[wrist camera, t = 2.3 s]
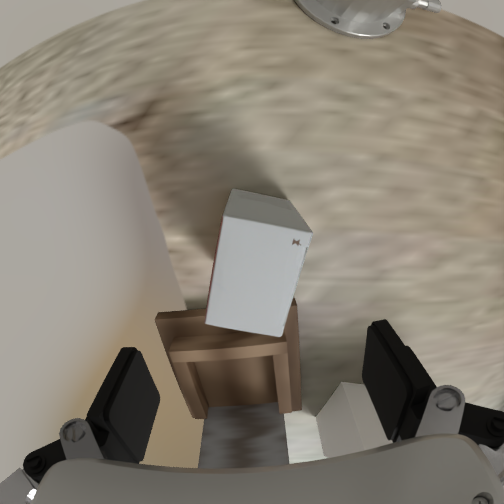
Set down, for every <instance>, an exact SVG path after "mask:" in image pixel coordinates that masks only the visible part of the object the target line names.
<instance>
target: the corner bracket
mask: <svg viewBox="0 0 504 504" xmlns="http://www.w3.org/2000/svg"><path fill="white" fill-rule="evenodd" d="M316 421H317V425H318V430H319V435H320V439H321V444H322V449H323V454H324V456H326V457H328V458H332V457H337V456H342V455H346V454H351V453H355V452H360V451H364V450H368V449H372V448H376V447H380V446H383V445H387V444H390V443H393V442H392V440H388V439H387V437H386V435H385V432H384V430H383V427H382V425H381V422H380V420H379V417H378V415H377V413H376V410H375V408H374V405H373V403H372V401H371V398H370V396H369V394H368V391H367V389H366V387H365V384H356V383H348V382H341V383H340V384H339V386H338V387H337V389H336V390H335V392H334V393H333V394H332V396H331V397H330V398H329V400H328V401H327V403H326V404H325V405H324V407H323V408H322V409H321V411H320V412H319V413H318V415H317V416H316Z"/></svg>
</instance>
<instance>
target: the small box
mask: <svg viewBox="0 0 504 504" xmlns="http://www.w3.org/2000/svg"><path fill="white" fill-rule="evenodd" d="M312 236H313V232H312V230H311V229H310V228H309V226H308V225H307V223H306V222H305V221H304V219H303V218H302V217H301V215H300V214H299V212H298V211H297V210H296V208H295V207H294V206H293V204H292V203H291V202H290V200H286V199H281V198H277V197H272V196H267V195H263V194H258V193H253V192H249V191H244V190H238V189H232V190H231V193H230V196H229V198H228V201H227V204H226V207H225V210H224V213H223V215H222V220H221V225H220V231H219V236H218V241H217V247H216V252H215V257H214V263H213V268H212V275H211V281H210V287H209V294H208V301H207V308H206V315H205V322H204V323H205V324H209V325H213V326H218V327H223V328H229V329H234V330H240V331H246V332H252V333H258V334H264V335H270V336H276V337H281V336H282V334H283V330H284V326H285V323H286V319H287V316H288V312H289V309H290V306H291V303H292V299H293V296H294V293H295V289H296V286H297V283H298V279H299V276H300V273H301V269H302V266H303V263H304V260H305V256H306V253H307V250H308V248H309V245H310V242H311V239H312Z"/></svg>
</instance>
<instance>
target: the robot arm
mask: <svg viewBox="0 0 504 504" xmlns="http://www.w3.org/2000/svg"><path fill="white" fill-rule="evenodd" d="M295 2H296V3H297V5H298V6H299V7H300V8H301V9H302V10H303V11H304V12H305V13H306V14H307V15H308V16H309V17H311V18H312V19H313V20H315V21H316V22H317V23H319V24H321V25H323V26H324V27H326V28H328V29H330V30H332V31H335V32H337V33H339V34H343V35H346V36H349V37H355V38H361V39H373V38H379V37H383V36H385V35H388V34H390V33H391V32H393V31H394V30H396V29H397V28H398V27H399V26H400V25H401V24H402V22H403V20H404V18H405V13H406V9H407V8H411V9H415V8H416V7H419V8H422V9H424V10H428V11H431V12H434V13H439V12H440V10H441V3H440V1H439V0H295ZM332 22H333V23H334V24H333V23H332ZM362 378H363V382H364V384H365V387H366V389H367V391H368V394H369V396H370V398H371V401H372V403H373V405H374V408H375V410H376V413H377V415H378V417H379V420H380V422H381V425H382V427H383V430H384V432H385V435H386V437H387V439H388V440H392V442H393V443H390V444H387V445H383V446H380V447H376V448H372V449H368V450H364V451H360V452H355V453H351V454H346V455H342V456H337V457H332V458H326V459H321V460H315V461H309V462H302V463H294V464H286V465H277V466H266V467H252V468H225V469H207V468H179V467H165V466H154V465H145V464H139V462H140V461H142V460H143V459H144V455H145V451H146V448H147V444H148V441H149V437H150V434H151V430H152V427H153V423H154V420H155V416H156V413H157V409H158V406H159V403H160V395H159V392H158V390H157V388H156V386H155V384H154V381H153V379H152V377H151V375H150V372H149V370H148V367H147V365H146V363H145V360H144V358H143V356H142V354H141V352H140V351H138V350H137V349H136V348H135V347H123V348H122V349H121V350H120V352H119V354H118V356H117V357H116V359H115V361H114V363H113V365H112V367H111V368H110V371H109V372H108V374H107V376H106V378H105V380H104V382H103V384H102V386H101V387H100V390H99V392H98V393H97V395H96V398H95V399H94V401H93V403H92V405H91V407H90V409H89V411H88V413H87V417H86V419H85V420H84V419H80V418H75V419H72V420H69V421H68V422H66V423H65V424H64V425H63V426H62V428H61V429H60V433H59V435H60V439H59V440H57V441H55V442H52V443H50V444H48V445H46V446H44V447H42V448H40V449H37V450H35V451H33V452H31V453H29V454H28V455H27V456H26V458H25V460H24V463H23V467H24V469H23V470H21V469H20V468H19V469H17V470H16V471H15V472H14V473H13V474H11V475H10V476H9V477H8V478H7V479H5V480H4V481H3V482H1V483H0V504H504V412H502V411H498V410H493V409H489V408H485V407H481V406H477V405H473V404H469V403H465V397H464V394H463V393H462V391H461V390H460V389H458V388H457V387H454V386H451V385H443V386H439V387H436V385H435V384H434V382H433V381H432V379H431V378H430V376H429V375H428V373H427V372H426V370H425V369H424V367H423V366H422V364H421V363H420V361H419V360H418V358H417V357H416V355H415V354H414V352H413V351H412V350H411V348H410V347H409V346H405V345H404V344H403V342H402V341H401V339H400V338H399V336H398V335H397V334H396V332H395V331H394V329H393V328H392V327H391V325H390V324H389V322H388V321H387V320H386V319H384V320H379V321H374V322H372V324H371V326H368V329H367V339H366V348H365V356H364V364H363V371H362Z"/></svg>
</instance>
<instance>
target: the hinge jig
mask: <svg viewBox="0 0 504 504" xmlns="http://www.w3.org/2000/svg"><path fill="white" fill-rule="evenodd" d="M205 315H206V309H195V310H185V311H172V312H159V313H158V314H157V316H156V318H155V322H156V325H157V328H158V331H159V334H160V337H161V340H162V342H163V345H164V348H165V351H166V353H167V356H168V359H169V361H170V364H171V367H172V369H173V372H174V375H175V377H176V380H177V382H178V385H179V387H180V390H181V392H182V394H183V397H184V399H185V401H186V404H187V406H188V408H189V411H190V413H191V415H192V417H193V418H195V419H204V426H203V433H202V442H201V448H200V456H199V464H198V468H207V469H225V468H252V467H266V466H277V465H286V464H289V456H288V448H287V439H286V430H285V421H284V413H291V412H292V411H299V410H302V402H301V373H300V351H299V331H298V314H297V304H296V301H295V298H294V299H292V303H291V306H290V309H289V312H288V316H287V319H286V323H285V326H284V330H283V334H282V336H281V337H276V336H270V335H264V334H258V333H252V332H246V331H240V330H234V329H229V328H223V327H218V326H213V325H209V324H205V323H204V322H205Z"/></svg>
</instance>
